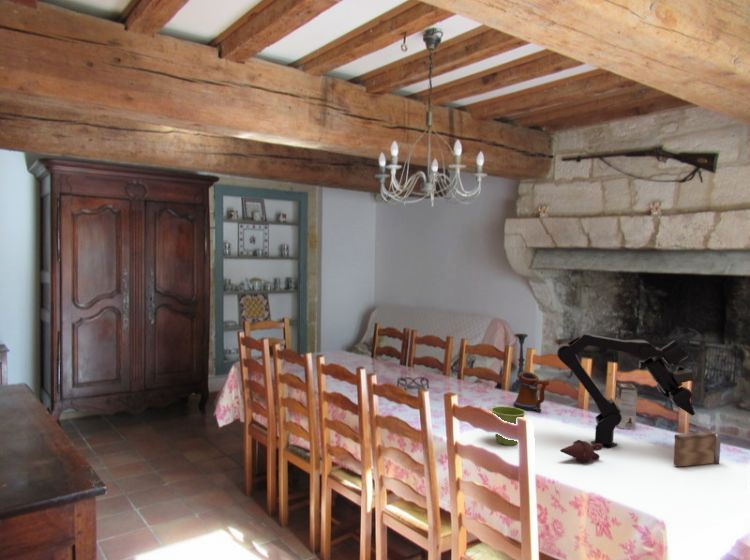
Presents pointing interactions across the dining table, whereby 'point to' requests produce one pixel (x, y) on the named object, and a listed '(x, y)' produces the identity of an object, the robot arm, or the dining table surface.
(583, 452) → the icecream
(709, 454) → the brown flat wooden slab
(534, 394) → the mug
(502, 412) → the plant pot
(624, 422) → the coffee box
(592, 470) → the dining table surface
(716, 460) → the gate post
